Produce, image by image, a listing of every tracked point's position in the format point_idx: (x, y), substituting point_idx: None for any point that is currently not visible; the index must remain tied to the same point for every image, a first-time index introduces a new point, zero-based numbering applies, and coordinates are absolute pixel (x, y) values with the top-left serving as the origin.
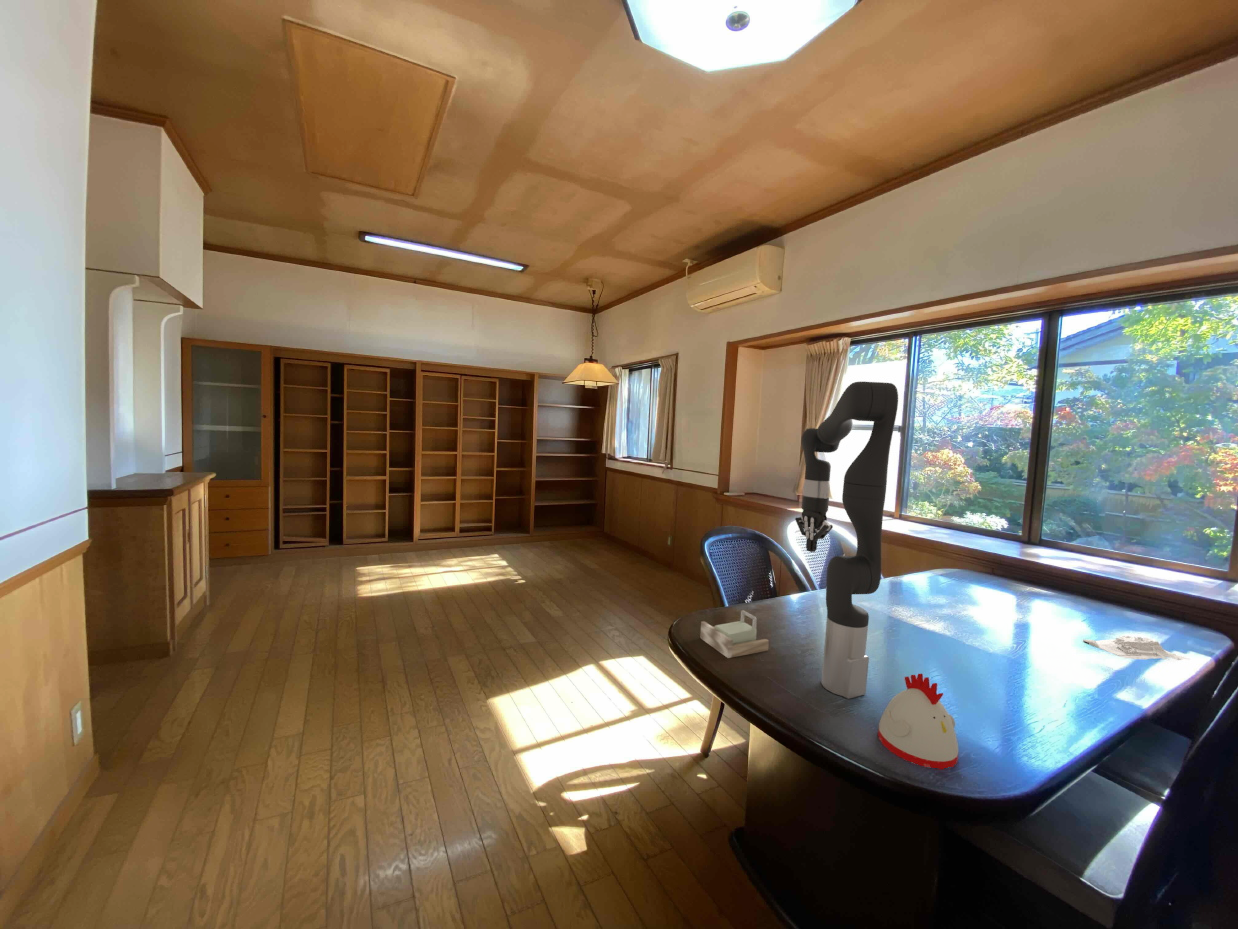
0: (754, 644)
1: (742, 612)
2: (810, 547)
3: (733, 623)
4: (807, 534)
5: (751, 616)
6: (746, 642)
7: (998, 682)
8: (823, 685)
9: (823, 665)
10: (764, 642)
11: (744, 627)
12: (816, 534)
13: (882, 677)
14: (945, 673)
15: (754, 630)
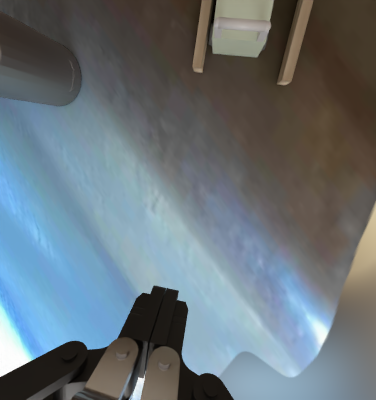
0: (199, 22)
1: (263, 20)
2: (147, 299)
3: (266, 2)
4: (158, 379)
5: (227, 17)
6: (209, 3)
7: (7, 280)
8: (62, 45)
9: (45, 37)
10: (194, 54)
11: (233, 11)
12: (53, 380)
13: (57, 167)
14: (39, 253)
15: (213, 30)
